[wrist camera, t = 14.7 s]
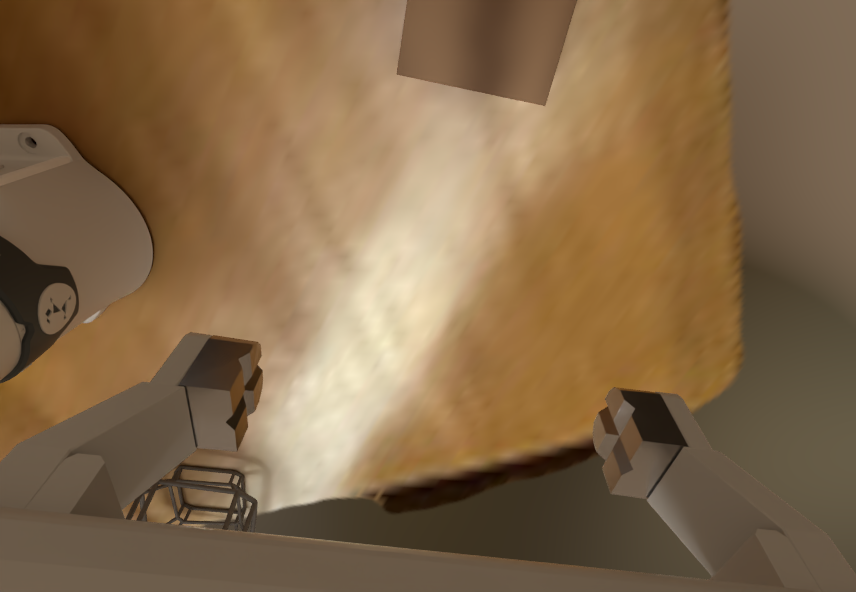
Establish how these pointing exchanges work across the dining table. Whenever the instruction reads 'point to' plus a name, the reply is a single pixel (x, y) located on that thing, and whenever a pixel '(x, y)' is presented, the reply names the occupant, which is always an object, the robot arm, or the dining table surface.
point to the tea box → (486, 44)
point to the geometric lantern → (192, 484)
